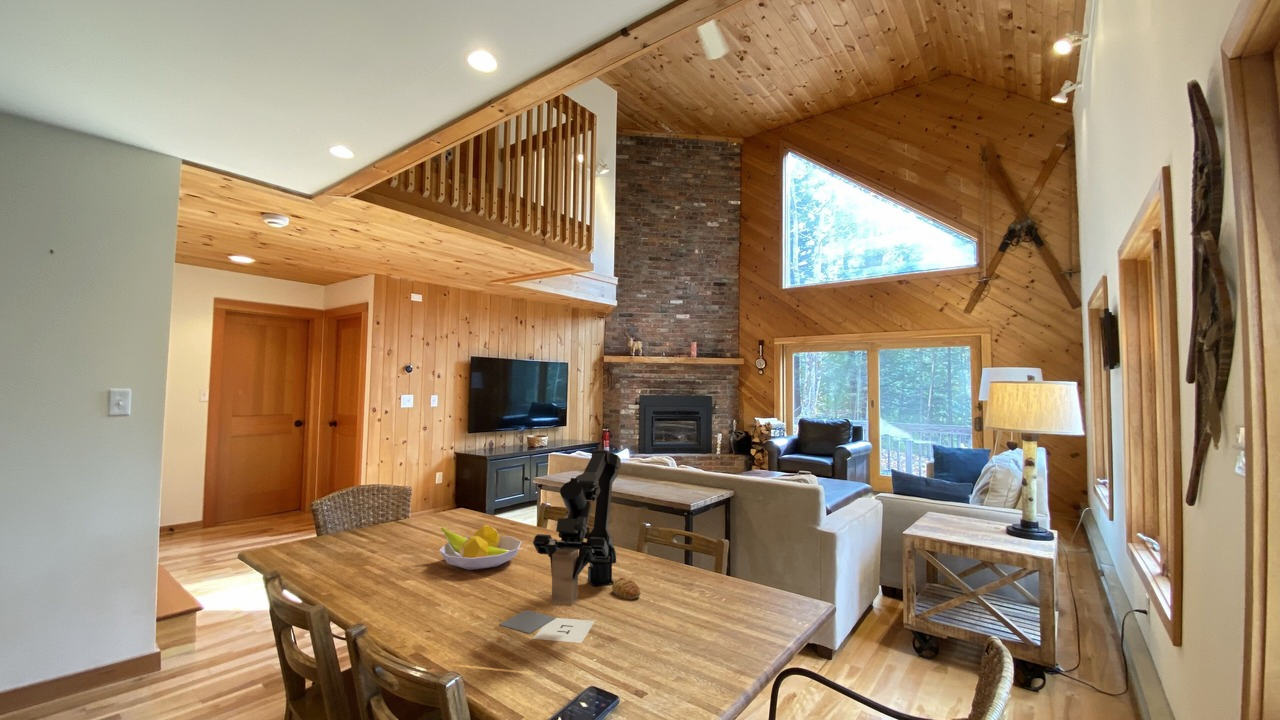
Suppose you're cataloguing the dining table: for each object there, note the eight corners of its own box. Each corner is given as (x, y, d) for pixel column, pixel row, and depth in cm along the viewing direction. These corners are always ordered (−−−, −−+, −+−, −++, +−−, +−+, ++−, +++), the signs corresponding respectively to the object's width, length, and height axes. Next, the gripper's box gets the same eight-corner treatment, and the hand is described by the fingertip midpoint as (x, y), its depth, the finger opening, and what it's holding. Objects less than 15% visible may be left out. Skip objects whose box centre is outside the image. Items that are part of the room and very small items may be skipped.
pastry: (646, 597, 155) (646, 584, 155) (626, 603, 152) (626, 589, 152) (628, 587, 163) (628, 574, 163) (609, 592, 159) (609, 579, 159)
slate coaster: (526, 612, 145) (526, 609, 145) (555, 620, 140) (555, 617, 140) (499, 626, 136) (499, 624, 136) (529, 635, 131) (529, 633, 131)
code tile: (550, 618, 141) (550, 617, 141) (595, 622, 139) (595, 620, 139) (532, 640, 129) (532, 638, 129) (581, 644, 127) (581, 642, 127)
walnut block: (558, 596, 137) (558, 548, 138) (577, 598, 136) (577, 549, 137) (551, 604, 132) (552, 554, 133) (571, 606, 131) (571, 555, 132)
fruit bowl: (537, 558, 189) (537, 526, 190) (475, 582, 167) (476, 545, 167) (481, 546, 204) (482, 515, 205) (418, 566, 182) (419, 532, 182)
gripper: (535, 502, 141) (518, 559, 129) (605, 505, 137) (593, 564, 126) (546, 525, 148) (530, 581, 137) (613, 528, 145) (602, 586, 133)
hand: (563, 578), depth 133 cm, fingers closed on walnut block, 5 cm apart
